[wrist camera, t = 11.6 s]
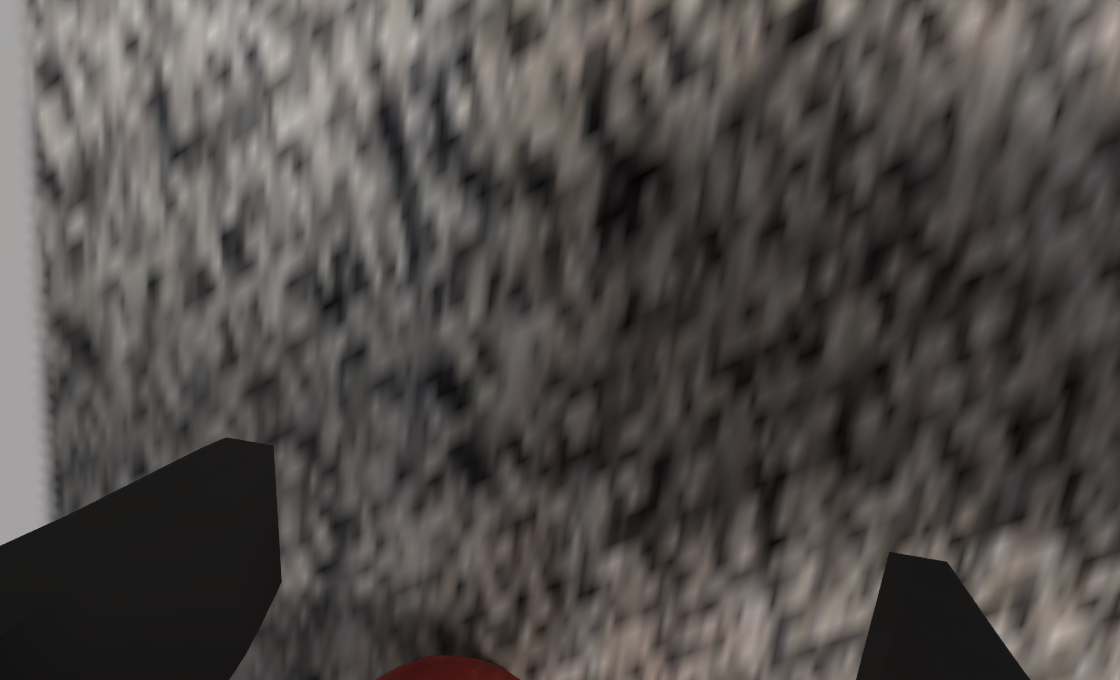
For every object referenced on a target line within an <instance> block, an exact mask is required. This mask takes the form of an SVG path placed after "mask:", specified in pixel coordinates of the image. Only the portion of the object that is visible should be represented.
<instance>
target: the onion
mask: <svg viewBox="0 0 1120 680" xmlns="http://www.w3.org/2000/svg"><path fill="white" fill-rule="evenodd" d="M376 680H520V679H518V678H517V677H515V676H514V675H512V674H511V673H509V672H508V671H507V670H506V669H504V668H502V667H500V666H498V665H497V664H492V663H488V662H485V661H482V660H478V659H475V658H471V657H458V656H452V655H443V656H428V657H425V658H422V659H419V660H416V661H413V662H411V663H408V664H405V665H402V666H399V667H397V668H395V669H393V670H392V671H390V672H388V673H387V674H385V675H383V676H381V677H380V678H378V679H376Z"/></svg>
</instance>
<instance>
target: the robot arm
mask: <svg viewBox="0 0 1120 680" xmlns="http://www.w3.org/2000/svg"><path fill="white" fill-rule="evenodd" d="M281 582H282V579H281V563H280V546H279V530H278V513H277V496H276V480H275V463H274V447H273V446H272V445H267V444H261V443H255V442H249V441H243V440H238V439H232V438H224V439H222V440H219V441H217V442H214V443H212V444H210V445H208V446H205V447H203V448H201V449H199V450H197V451H195V452H193V453H191V454H189V455H187V456H185V457H183V458H181V459H179V460H177V461H175V462H173V463H171V464H169V465H167V466H165V467H163V468H161V469H159V470H157V471H155V472H153V473H151V474H149V475H147V476H145V477H143V478H141V479H139V480H137V481H135V482H133V483H131V484H129V485H127V486H125V487H123V488H121V489H119V490H117V491H115V492H113V493H111V494H109V495H107V496H105V497H103V498H101V499H99V500H97V501H95V502H93V503H91V504H89V505H87V506H85V507H83V508H81V509H79V510H77V511H75V512H73V513H71V514H69V515H67V516H65V517H62V518H60V519H58V520H56V521H54V522H51V523H49V524H47V525H45V526H43V527H40V528H38V529H36V530H34V531H32V532H30V533H27V534H25V535H23V536H21V537H19V538H17V539H15V540H12V541H10V542H8V543H5V544H3V545H1V546H0V680H229V679H230V678H231V676H232V675H233V673H234V672H235V670H236V668H237V667H238V665H239V664H240V662H241V661H242V659H243V658H244V656H245V655H246V653H247V651H248V649H249V647H250V645H251V643H252V641H253V639H254V637H255V635H256V634H257V632H258V630H259V628H260V626H261V624H262V622H263V620H264V618H265V616H266V614H267V611H268V609H269V607H270V605H271V603H272V601H273V599H274V597H275V595H276V593H277V590H278V588H279V586H280V584H281ZM856 680H1030V679H1029V677H1028V676H1027V675H1026V673H1025V672H1024V671H1023V669H1022V668H1021V666H1020V665H1019V664H1018V662H1017V661H1016V660H1015V658H1014V657H1013V655H1012V654H1011V653H1010V651H1009V650H1008V648H1007V647H1006V646H1005V644H1004V643H1003V641H1002V640H1001V639H1000V637H999V636H998V634H997V633H996V631H995V630H994V629H993V627H992V626H991V624H990V623H989V621H988V620H987V618H986V617H985V616H984V614H983V613H982V611H981V610H980V608H979V607H978V605H977V604H976V603H975V601H974V600H973V598H972V597H971V595H970V594H969V592H968V591H967V589H966V588H965V587H964V585H963V584H962V582H961V581H960V579H959V578H958V577H957V575H956V574H955V572H954V571H953V570H952V568H951V567H950V565H949V564H948V563H947V562H945V561H939V560H933V559H927V558H922V557H916V556H910V555H904V554H898V553H893V552H889V556H888V560H887V564H886V567H885V571H884V575H883V579H882V583H881V587H880V590H879V594H878V598H877V602H876V606H875V609H874V613H873V617H872V621H871V625H870V628H869V632H868V636H867V640H866V644H865V648H864V651H863V655H862V659H861V663H860V667H859V670H858V674H857V678H856Z"/></svg>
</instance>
